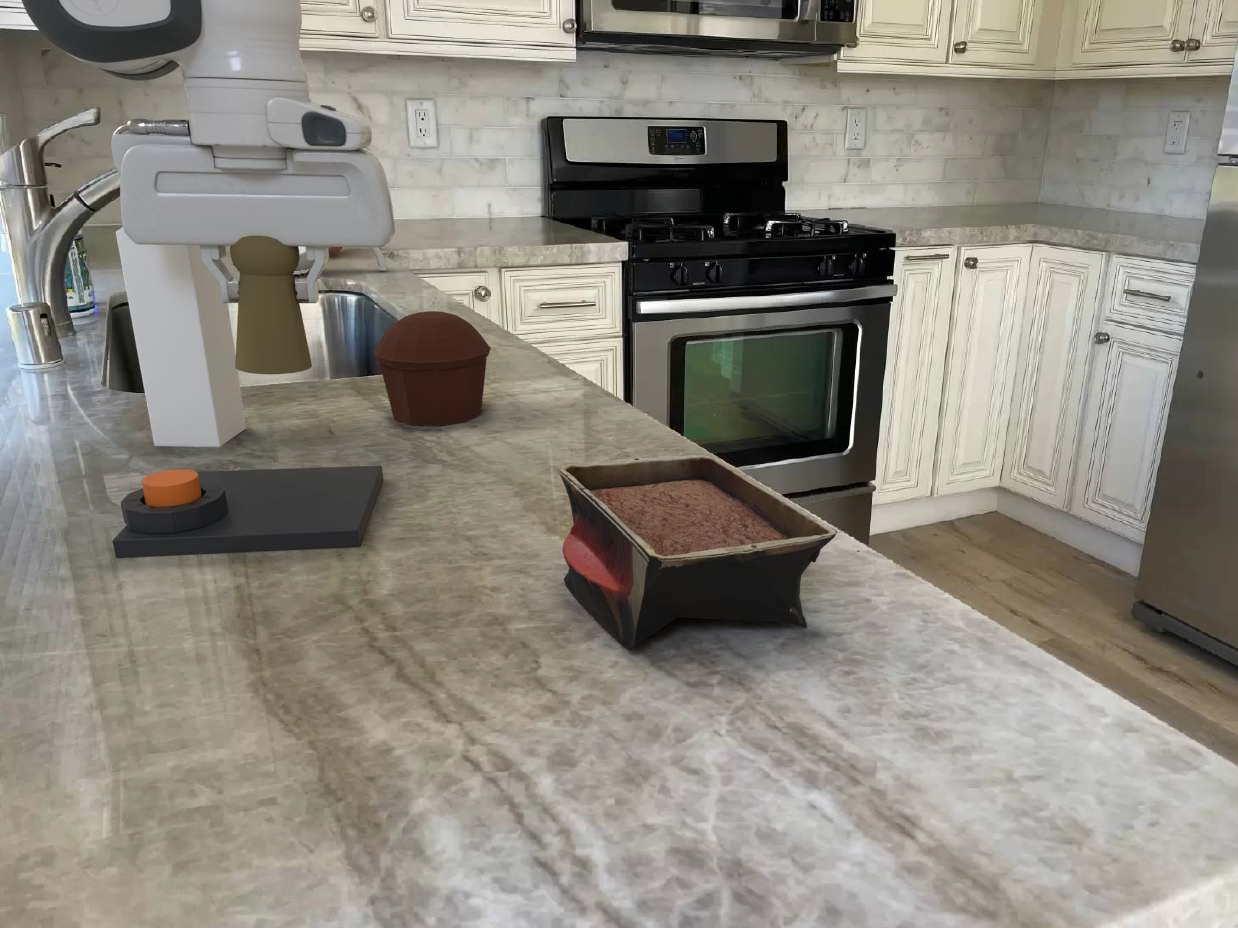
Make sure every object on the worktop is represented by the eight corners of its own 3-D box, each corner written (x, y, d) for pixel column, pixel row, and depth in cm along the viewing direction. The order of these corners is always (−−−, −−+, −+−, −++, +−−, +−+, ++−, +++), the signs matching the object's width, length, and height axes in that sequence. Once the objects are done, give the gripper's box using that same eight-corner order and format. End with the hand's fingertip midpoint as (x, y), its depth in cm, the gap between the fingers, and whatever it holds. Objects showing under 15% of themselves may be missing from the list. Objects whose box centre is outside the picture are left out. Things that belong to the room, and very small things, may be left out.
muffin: (478, 431, 97) (472, 327, 93) (364, 429, 97) (353, 325, 94) (503, 399, 108) (498, 305, 104) (400, 397, 108) (392, 303, 105)
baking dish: (739, 566, 74) (726, 431, 71) (866, 645, 57) (854, 473, 55) (547, 609, 69) (525, 467, 67) (624, 708, 53) (599, 524, 50)
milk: (154, 447, 91) (104, 192, 83) (185, 428, 97) (141, 186, 89) (221, 448, 91) (179, 192, 83) (248, 428, 97) (211, 187, 89)
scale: (111, 559, 69) (103, 518, 67) (175, 488, 81) (169, 453, 80) (359, 548, 71) (355, 508, 70) (383, 481, 84) (380, 446, 83)
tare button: (138, 510, 70) (133, 487, 69) (155, 492, 73) (151, 469, 72) (193, 508, 70) (189, 485, 70) (208, 490, 74) (204, 468, 73)
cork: (221, 363, 84) (208, 227, 81) (290, 355, 89) (281, 225, 85) (256, 377, 81) (244, 235, 77) (325, 368, 85) (318, 233, 81)
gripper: (90, 117, 74) (122, 308, 79) (381, 126, 77) (394, 309, 82) (121, 117, 79) (149, 295, 84) (390, 125, 82) (402, 296, 87)
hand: (272, 302), depth 83 cm, fingers closed on cork, 4 cm apart
